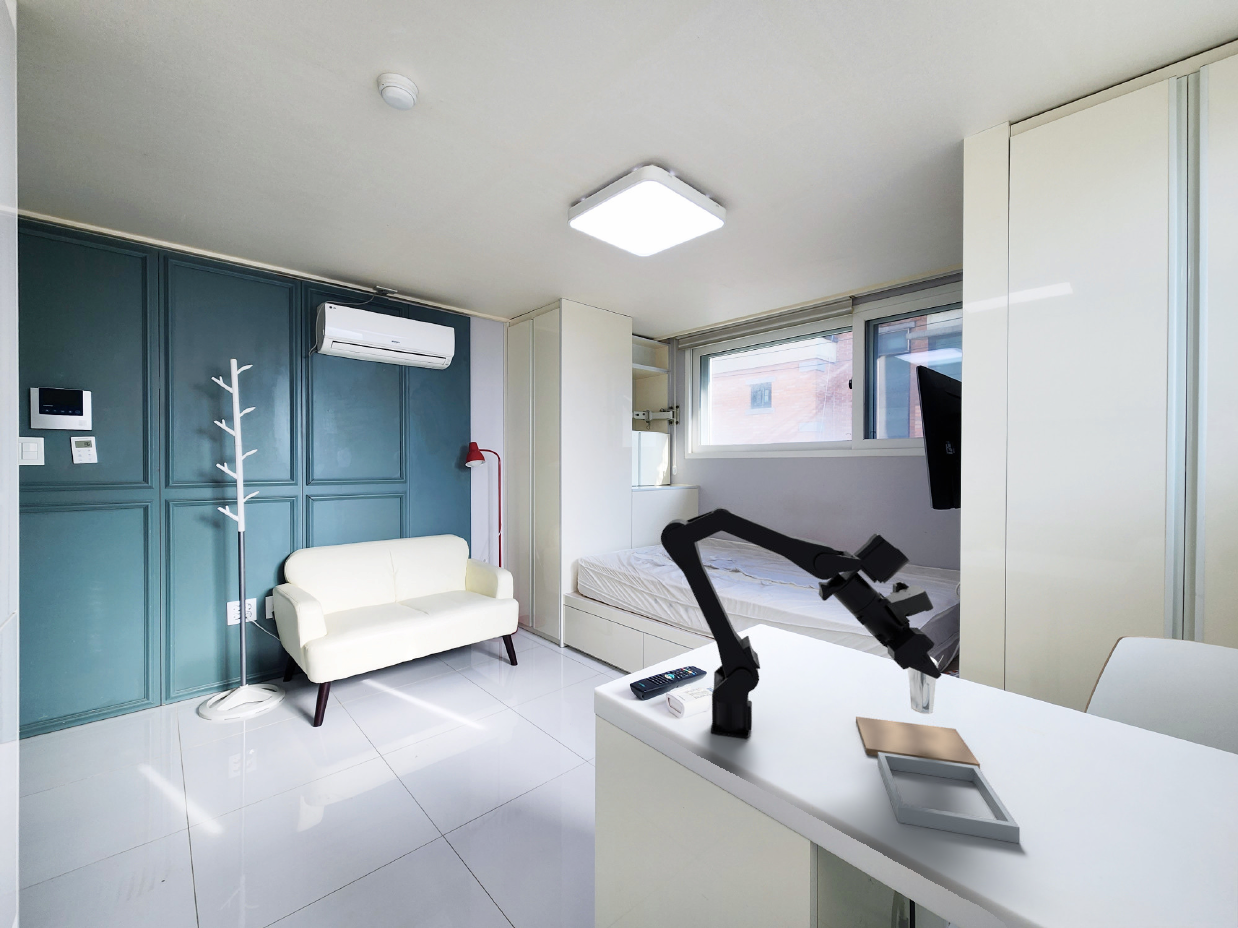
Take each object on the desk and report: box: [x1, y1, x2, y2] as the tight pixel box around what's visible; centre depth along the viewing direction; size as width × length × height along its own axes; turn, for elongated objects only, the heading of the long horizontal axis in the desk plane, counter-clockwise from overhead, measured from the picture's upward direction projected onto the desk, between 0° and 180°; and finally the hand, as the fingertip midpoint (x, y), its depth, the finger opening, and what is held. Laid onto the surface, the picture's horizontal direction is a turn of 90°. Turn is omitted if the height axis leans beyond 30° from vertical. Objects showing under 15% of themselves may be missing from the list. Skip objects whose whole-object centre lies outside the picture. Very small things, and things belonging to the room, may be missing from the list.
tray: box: [877, 752, 1020, 844], centre depth 72 cm, size 14×14×2 cm
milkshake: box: [907, 655, 944, 715], centre depth 86 cm, size 4×5×10 cm
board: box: [855, 716, 981, 770], centre depth 87 cm, size 16×11×1 cm
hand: (933, 671), depth 86 cm, fingers closed on milkshake, 4 cm apart
